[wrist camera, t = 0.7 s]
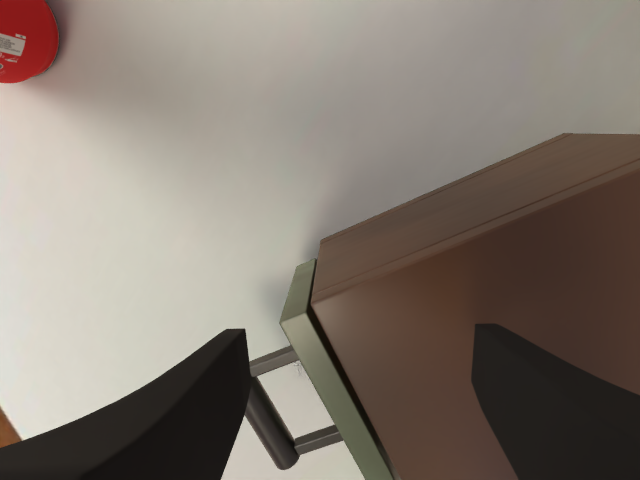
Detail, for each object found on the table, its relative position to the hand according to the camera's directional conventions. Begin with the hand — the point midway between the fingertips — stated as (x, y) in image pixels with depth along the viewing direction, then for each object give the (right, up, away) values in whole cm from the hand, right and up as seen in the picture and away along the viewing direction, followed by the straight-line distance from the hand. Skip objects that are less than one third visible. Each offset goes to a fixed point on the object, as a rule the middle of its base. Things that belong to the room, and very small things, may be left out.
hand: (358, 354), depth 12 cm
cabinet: (+7, +1, +9) cm, 12 cm away
